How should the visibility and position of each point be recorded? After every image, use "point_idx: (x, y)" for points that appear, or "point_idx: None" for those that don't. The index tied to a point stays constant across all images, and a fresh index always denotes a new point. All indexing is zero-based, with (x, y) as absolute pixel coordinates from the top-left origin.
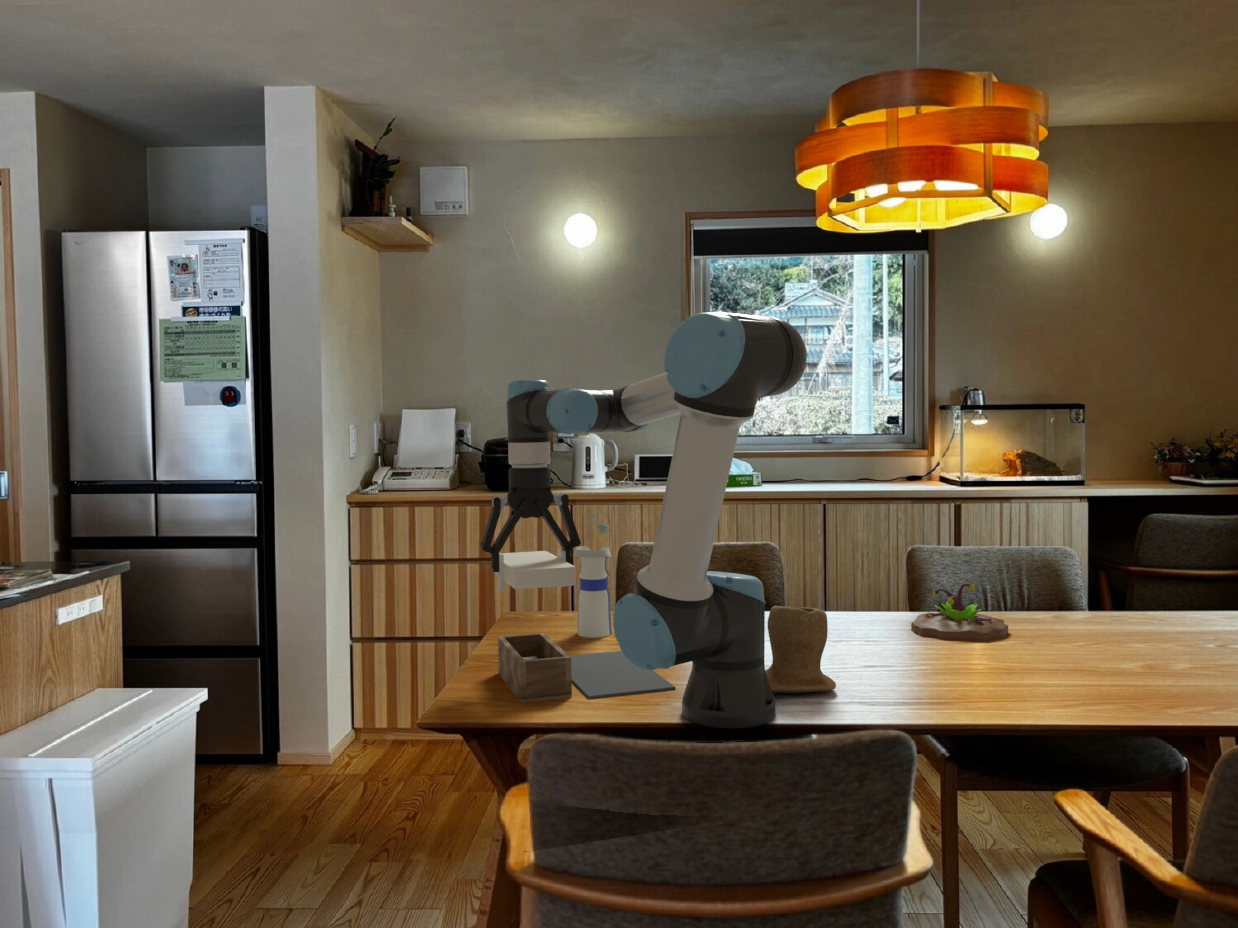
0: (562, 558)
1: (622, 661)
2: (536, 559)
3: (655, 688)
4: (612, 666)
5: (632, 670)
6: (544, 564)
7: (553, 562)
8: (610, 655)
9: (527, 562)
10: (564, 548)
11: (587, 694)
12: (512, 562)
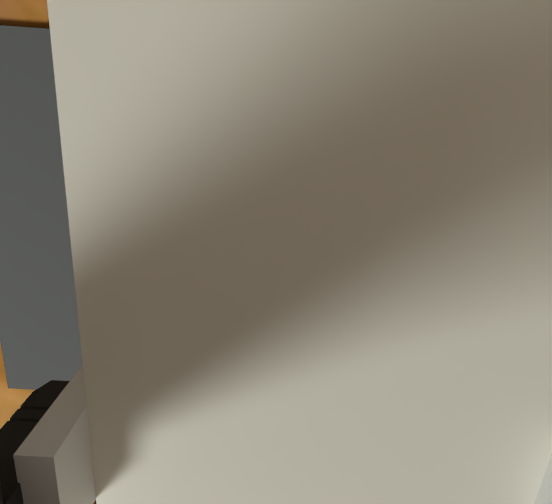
0: (77, 409)
1: (36, 304)
2: (277, 470)
3: (6, 30)
4: (70, 273)
5: (29, 220)
6: (302, 202)
7: (192, 278)
8: (53, 362)
9: (392, 372)
10: (5, 500)
11: None
12: (496, 418)
